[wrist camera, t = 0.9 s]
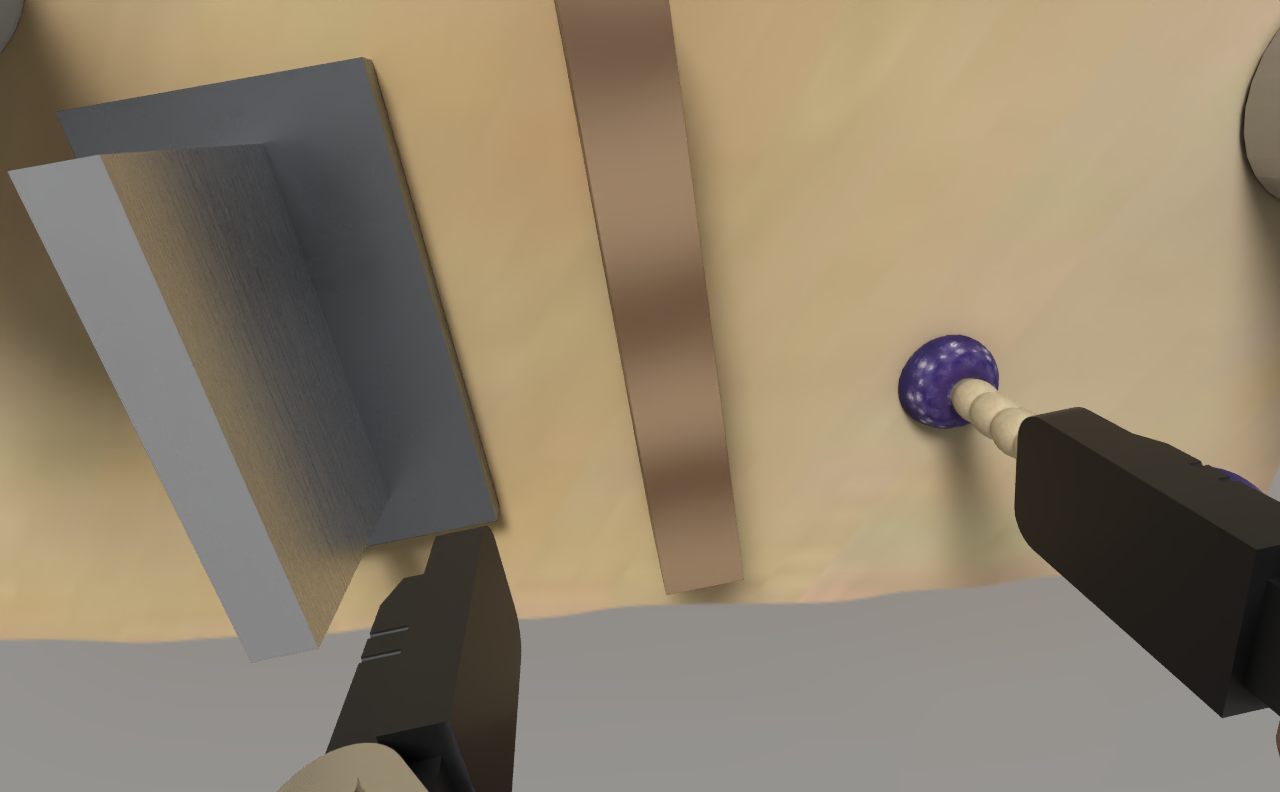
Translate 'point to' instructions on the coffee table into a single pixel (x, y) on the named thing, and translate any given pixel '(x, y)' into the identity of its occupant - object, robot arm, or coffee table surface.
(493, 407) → the coffee table surface
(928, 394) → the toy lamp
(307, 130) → the ridge stand
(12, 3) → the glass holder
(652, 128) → the brown wooden plank
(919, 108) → the coffee table surface
